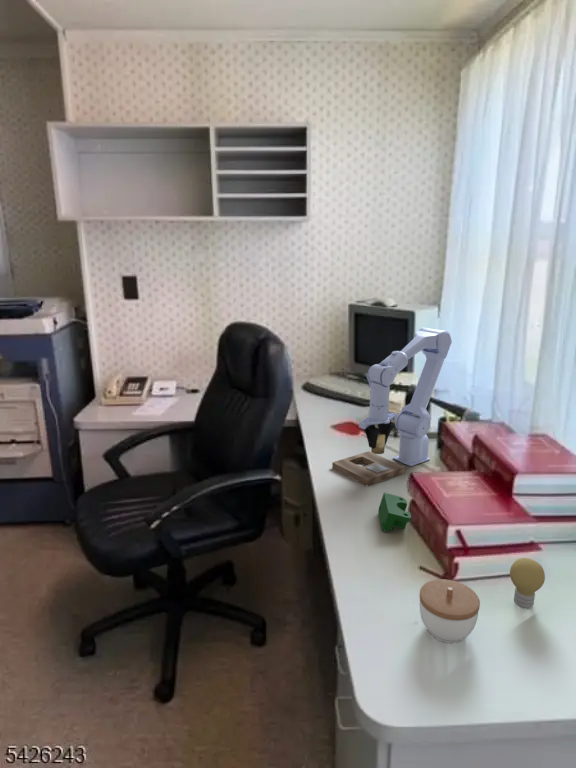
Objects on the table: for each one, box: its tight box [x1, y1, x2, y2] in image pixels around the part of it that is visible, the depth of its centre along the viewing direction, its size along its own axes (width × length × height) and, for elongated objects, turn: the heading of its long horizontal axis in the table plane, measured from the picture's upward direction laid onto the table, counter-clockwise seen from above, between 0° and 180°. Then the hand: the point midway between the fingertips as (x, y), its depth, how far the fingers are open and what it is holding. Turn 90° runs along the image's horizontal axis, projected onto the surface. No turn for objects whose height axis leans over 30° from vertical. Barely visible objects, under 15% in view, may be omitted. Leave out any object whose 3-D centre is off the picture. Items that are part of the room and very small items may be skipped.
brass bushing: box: [370, 431, 386, 455], centre depth 170 cm, size 4×4×6 cm
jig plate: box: [331, 450, 406, 487], centre depth 174 cm, size 16×16×2 cm
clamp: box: [377, 492, 412, 533], centre depth 142 cm, size 12×6×9 cm, turn 170°
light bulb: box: [509, 557, 546, 610], centre depth 110 cm, size 6×6×10 cm
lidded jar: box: [419, 578, 481, 644], centre depth 102 cm, size 11×11×9 cm
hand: (377, 445), depth 170 cm, fingers closed on brass bushing, 4 cm apart
